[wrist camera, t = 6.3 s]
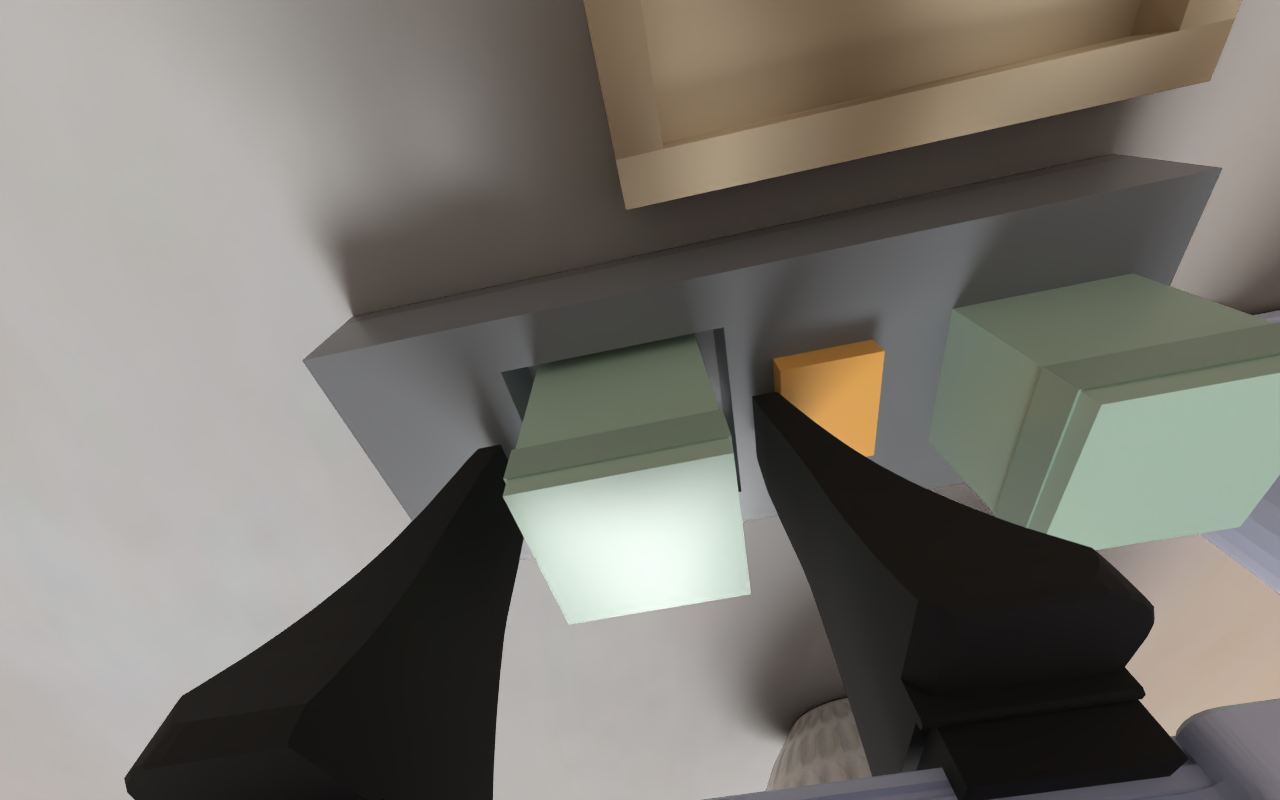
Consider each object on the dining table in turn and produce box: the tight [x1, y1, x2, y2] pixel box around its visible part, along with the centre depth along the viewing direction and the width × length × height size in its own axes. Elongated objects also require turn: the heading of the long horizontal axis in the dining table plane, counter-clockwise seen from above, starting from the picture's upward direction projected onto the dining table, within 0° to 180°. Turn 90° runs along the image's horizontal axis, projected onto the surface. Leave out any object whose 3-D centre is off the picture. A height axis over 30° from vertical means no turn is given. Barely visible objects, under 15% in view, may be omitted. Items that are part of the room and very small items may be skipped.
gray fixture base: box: [302, 154, 1280, 560], centre depth 12 cm, size 20×8×6 cm, turn 101°
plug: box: [503, 333, 751, 624], centre depth 12 cm, size 4×4×6 cm
